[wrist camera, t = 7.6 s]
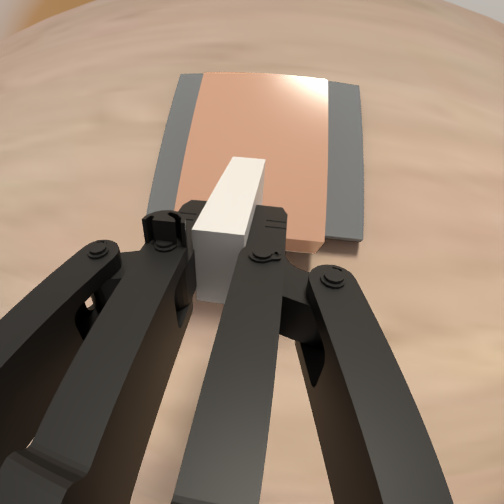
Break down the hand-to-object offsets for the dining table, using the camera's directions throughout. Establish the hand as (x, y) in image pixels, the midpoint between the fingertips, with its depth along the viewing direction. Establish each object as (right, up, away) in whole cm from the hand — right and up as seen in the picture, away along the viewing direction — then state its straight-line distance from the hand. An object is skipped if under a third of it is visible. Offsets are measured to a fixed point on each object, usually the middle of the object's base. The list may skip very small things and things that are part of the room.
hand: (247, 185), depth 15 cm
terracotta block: (0, -2, +6) cm, 6 cm away
